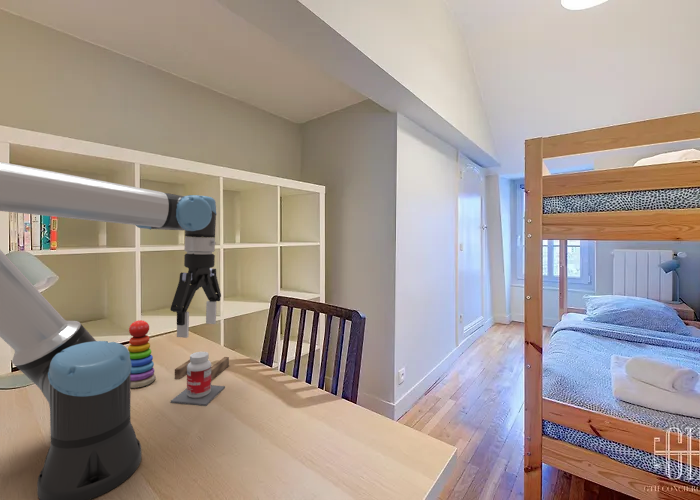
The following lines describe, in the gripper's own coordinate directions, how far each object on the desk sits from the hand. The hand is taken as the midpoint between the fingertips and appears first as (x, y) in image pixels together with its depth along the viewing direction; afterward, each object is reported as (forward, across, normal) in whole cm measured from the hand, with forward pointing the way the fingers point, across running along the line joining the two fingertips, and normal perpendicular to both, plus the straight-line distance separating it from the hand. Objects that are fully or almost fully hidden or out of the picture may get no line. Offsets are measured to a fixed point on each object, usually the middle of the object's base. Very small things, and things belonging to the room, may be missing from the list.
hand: (197, 329), depth 89 cm
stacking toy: (+19, +5, +20) cm, 28 cm away
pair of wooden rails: (+18, +15, +6) cm, 24 cm away
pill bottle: (+18, +1, 0) cm, 18 cm away
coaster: (+19, +1, 0) cm, 19 cm away
